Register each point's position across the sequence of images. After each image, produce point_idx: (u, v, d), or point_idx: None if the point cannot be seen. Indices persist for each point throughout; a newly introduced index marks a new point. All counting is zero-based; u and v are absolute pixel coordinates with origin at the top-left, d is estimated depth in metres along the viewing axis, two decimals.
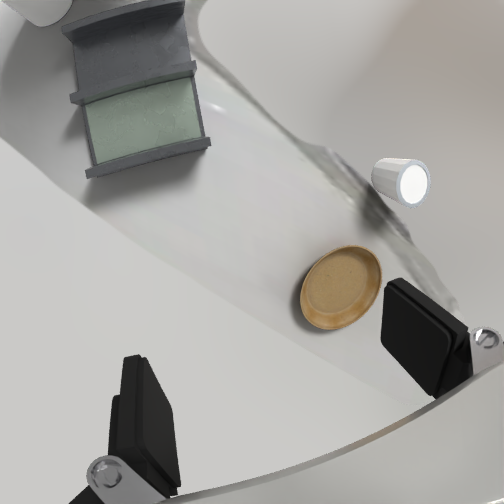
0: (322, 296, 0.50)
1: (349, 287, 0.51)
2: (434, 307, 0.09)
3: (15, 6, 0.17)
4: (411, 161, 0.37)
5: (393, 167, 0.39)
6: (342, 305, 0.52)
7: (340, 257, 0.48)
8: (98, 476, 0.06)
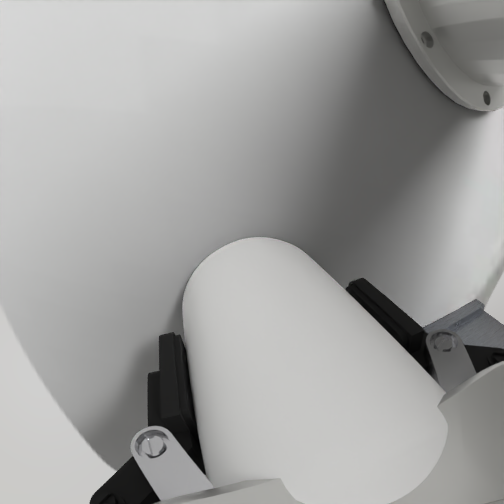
0: None
1: None
2: (391, 308, 0.10)
3: None
4: None
5: None
6: None
7: None
8: (142, 447, 0.06)
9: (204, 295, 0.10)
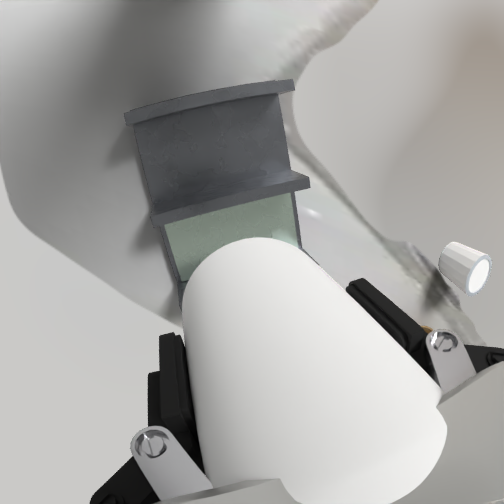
0: None
1: None
2: (391, 308, 0.10)
3: None
4: (481, 257, 0.36)
5: (464, 261, 0.38)
6: None
7: None
8: (142, 447, 0.06)
9: (204, 296, 0.10)
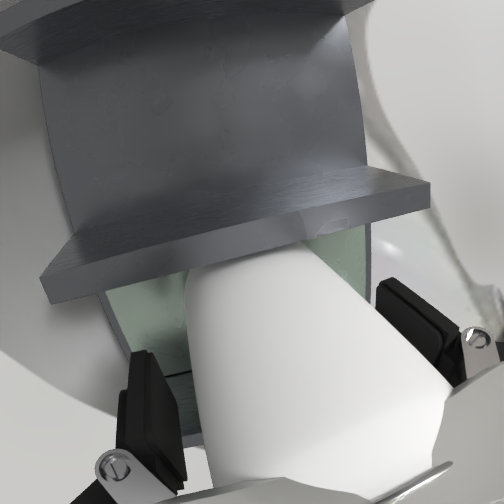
0: None
1: None
2: (425, 307, 0.09)
3: None
4: None
5: None
6: None
7: None
8: (106, 470, 0.06)
9: (205, 280, 0.11)
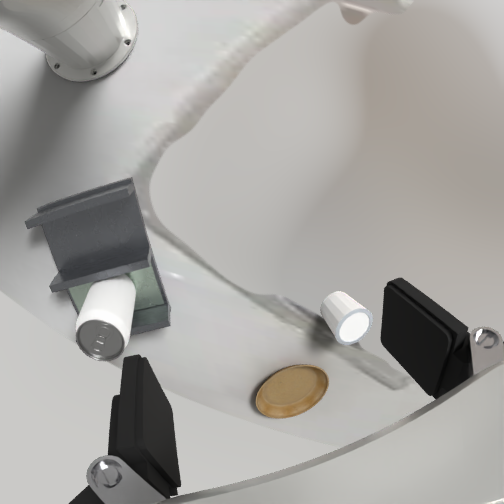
0: (276, 395, 0.58)
1: (300, 387, 0.58)
2: (434, 307, 0.09)
3: None
4: (352, 311, 0.45)
5: (336, 313, 0.47)
6: (295, 399, 0.59)
7: (291, 369, 0.56)
8: (98, 476, 0.06)
9: (91, 286, 0.37)
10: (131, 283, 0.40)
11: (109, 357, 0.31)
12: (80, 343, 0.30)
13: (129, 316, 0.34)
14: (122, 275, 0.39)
